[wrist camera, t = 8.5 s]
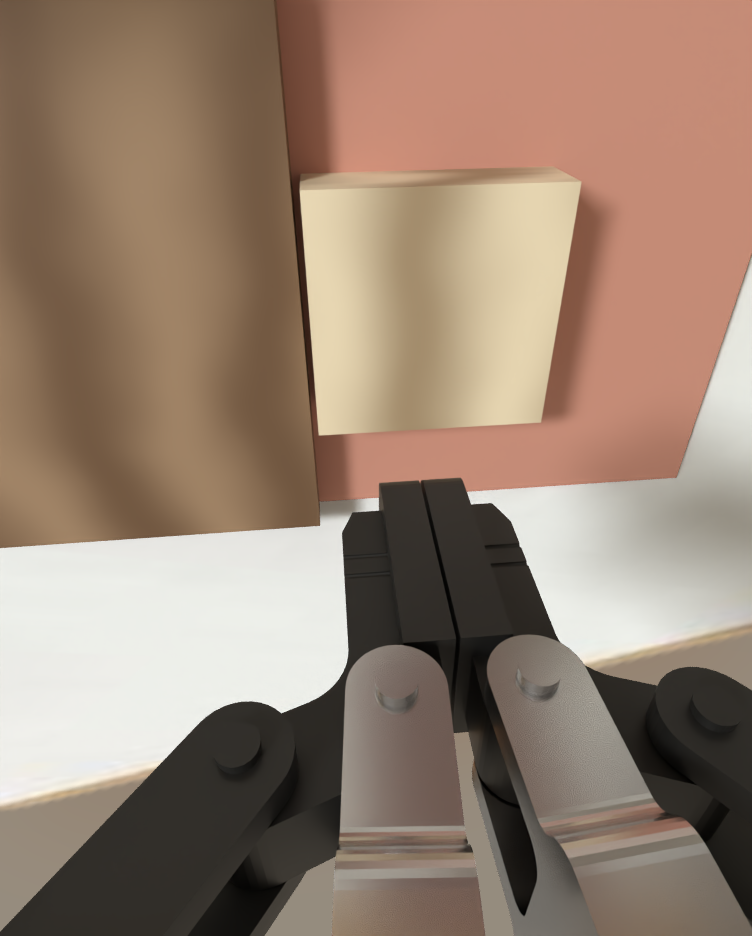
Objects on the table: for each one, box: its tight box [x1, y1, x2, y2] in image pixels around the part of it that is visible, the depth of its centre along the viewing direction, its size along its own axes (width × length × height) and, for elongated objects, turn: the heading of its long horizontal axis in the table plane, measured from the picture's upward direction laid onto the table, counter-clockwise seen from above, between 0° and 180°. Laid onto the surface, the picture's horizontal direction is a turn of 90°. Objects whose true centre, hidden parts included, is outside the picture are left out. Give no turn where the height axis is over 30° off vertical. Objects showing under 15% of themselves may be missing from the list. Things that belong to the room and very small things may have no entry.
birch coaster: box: [300, 166, 581, 435], centre depth 20 cm, size 8×8×2 cm
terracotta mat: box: [276, 0, 752, 501], centre depth 22 cm, size 16×18×1 cm
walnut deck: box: [0, 0, 320, 548], centre depth 20 cm, size 14×18×2 cm
